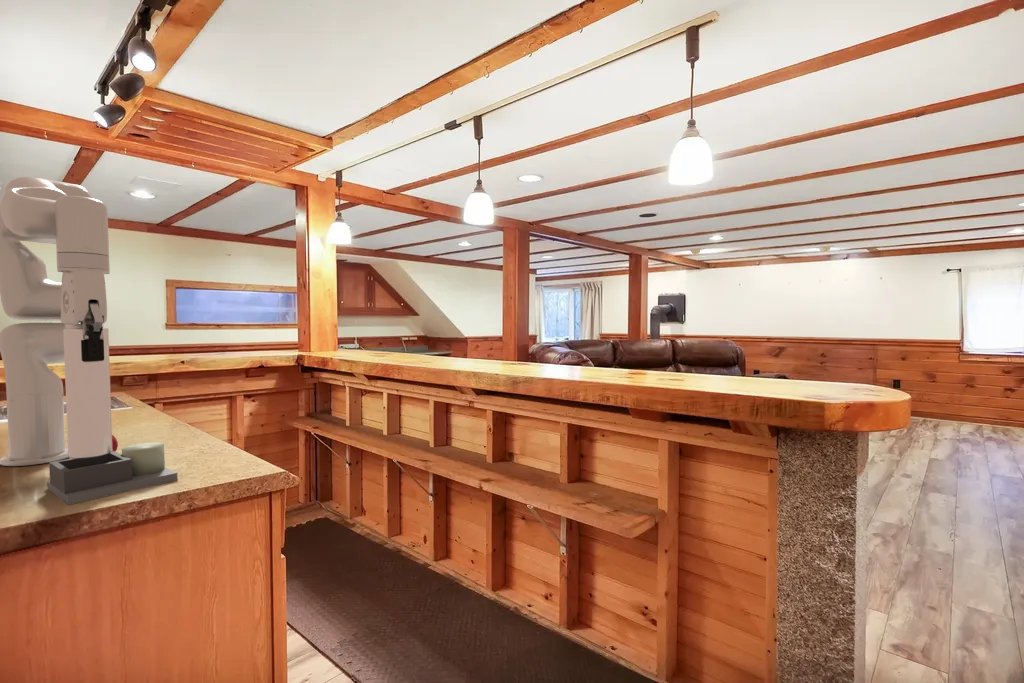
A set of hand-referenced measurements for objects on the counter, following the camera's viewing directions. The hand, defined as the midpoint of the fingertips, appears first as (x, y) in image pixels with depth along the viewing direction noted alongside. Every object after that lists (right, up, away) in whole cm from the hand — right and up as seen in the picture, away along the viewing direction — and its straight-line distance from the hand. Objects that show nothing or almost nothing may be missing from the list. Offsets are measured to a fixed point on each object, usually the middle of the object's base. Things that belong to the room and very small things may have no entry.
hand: (87, 359), depth 95 cm
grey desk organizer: (+2, -25, +4) cm, 25 cm away
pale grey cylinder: (0, -18, +1) cm, 18 cm away
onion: (-13, -24, +19) cm, 34 cm away
